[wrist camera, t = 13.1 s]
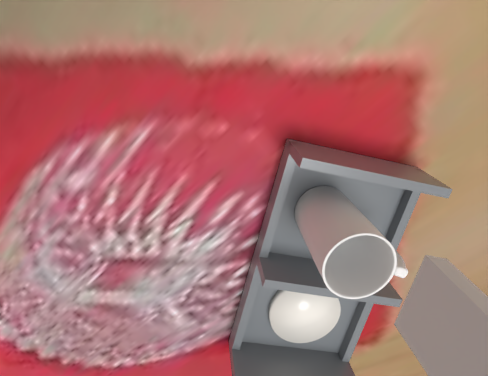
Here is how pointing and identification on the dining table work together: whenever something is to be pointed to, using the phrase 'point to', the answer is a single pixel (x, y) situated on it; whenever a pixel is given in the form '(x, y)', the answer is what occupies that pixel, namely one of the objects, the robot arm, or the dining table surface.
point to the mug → (346, 244)
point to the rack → (303, 266)
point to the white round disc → (302, 315)
